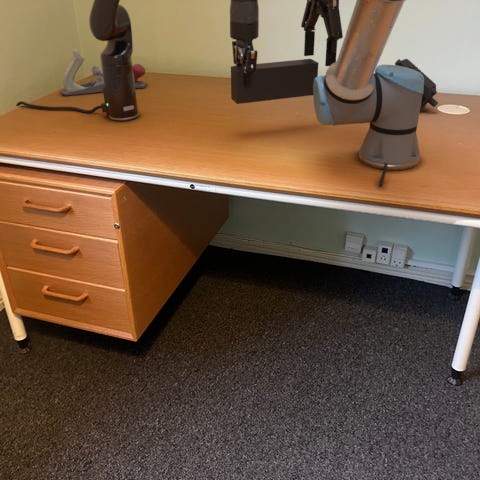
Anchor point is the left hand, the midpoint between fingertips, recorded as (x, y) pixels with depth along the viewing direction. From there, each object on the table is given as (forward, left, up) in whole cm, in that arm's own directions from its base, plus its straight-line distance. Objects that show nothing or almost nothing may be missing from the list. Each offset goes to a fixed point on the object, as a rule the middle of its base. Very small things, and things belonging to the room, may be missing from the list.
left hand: (244, 84), depth 147 cm
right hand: (+17, +13, +5) cm, 22 cm away
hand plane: (-69, +21, -15) cm, 74 cm away
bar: (+6, +7, -5) cm, 10 cm away
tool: (+36, +45, -15) cm, 60 cm away
